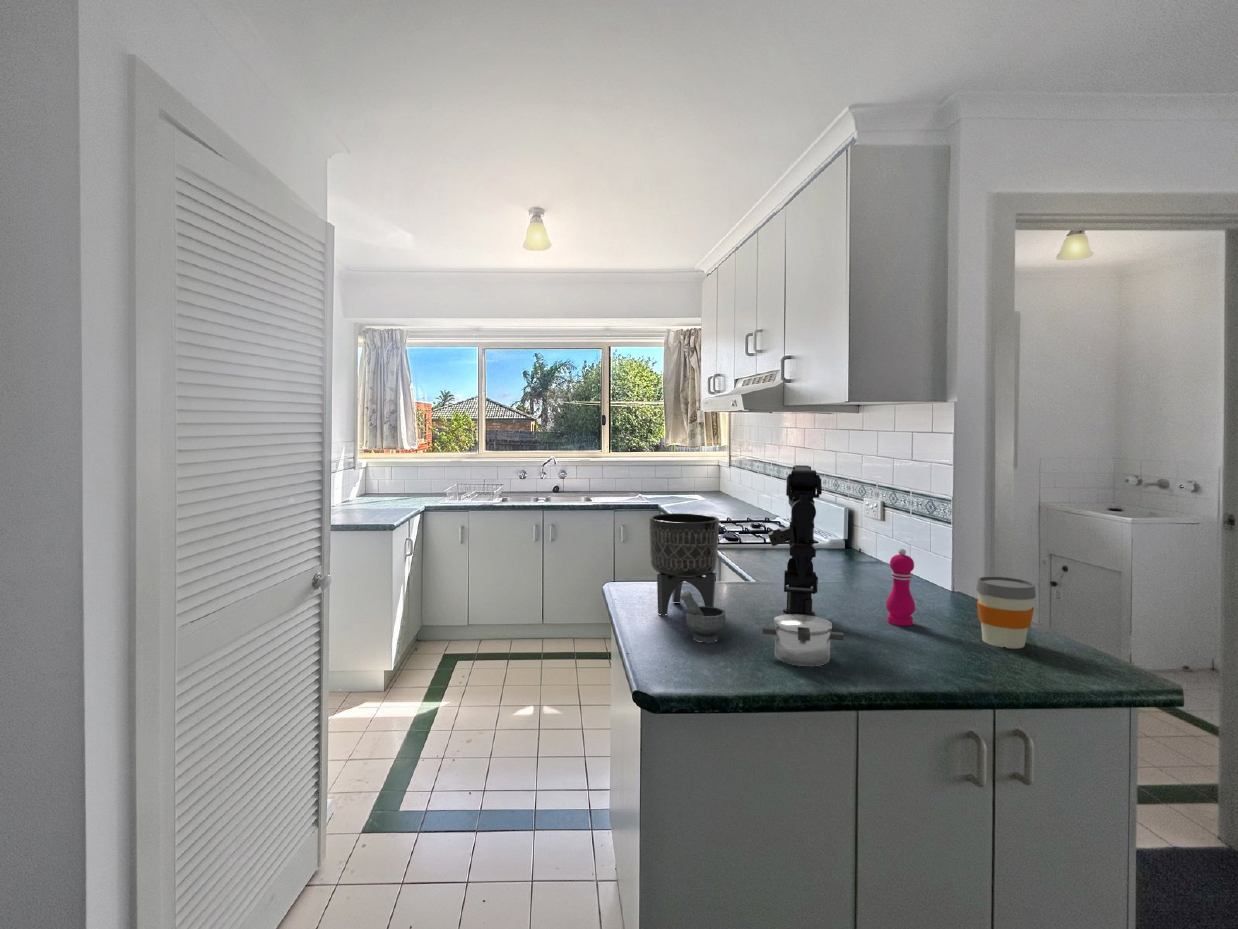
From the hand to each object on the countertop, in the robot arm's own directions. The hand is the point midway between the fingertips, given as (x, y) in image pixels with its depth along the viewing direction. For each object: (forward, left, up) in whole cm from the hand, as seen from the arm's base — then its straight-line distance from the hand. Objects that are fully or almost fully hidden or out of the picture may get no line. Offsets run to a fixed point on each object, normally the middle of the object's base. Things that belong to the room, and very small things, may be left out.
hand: (800, 578), depth 172 cm
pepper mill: (+10, +27, -13) cm, 32 cm away
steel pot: (+16, -16, -13) cm, 27 cm away
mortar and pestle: (-5, -28, -13) cm, 31 cm away
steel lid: (+18, -18, -6) cm, 26 cm away
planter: (-28, -17, -13) cm, 35 cm away
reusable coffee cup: (+33, +35, -13) cm, 50 cm away
